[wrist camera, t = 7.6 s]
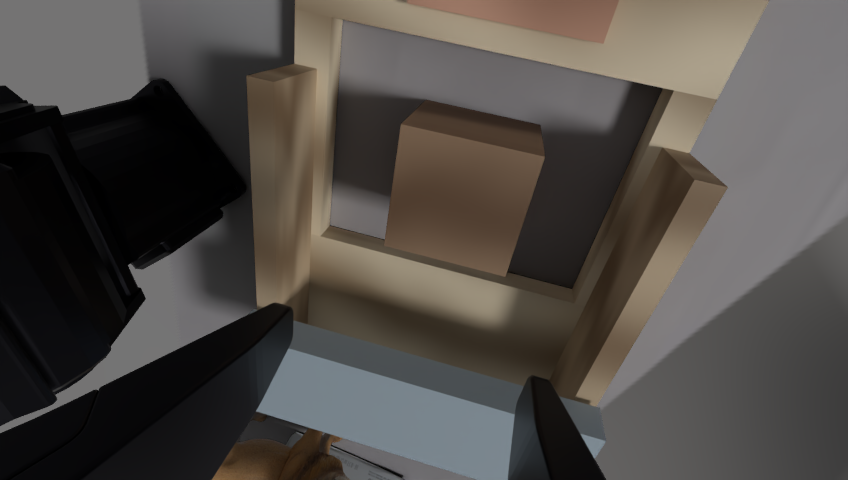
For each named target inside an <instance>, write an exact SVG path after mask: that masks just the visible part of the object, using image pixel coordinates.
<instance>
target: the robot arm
mask: <svg viewBox="0 0 848 480" xmlns="http://www.w3.org/2000/svg"><path fill="white" fill-rule="evenodd" d="M160 87H161V88H162V90H163V93H162V92H161V90H160ZM233 185H234V186H236V188H237V190H235V189H234V187H233ZM245 192H246V186H245V184H244V182H243V181H242V179H241V178H240V177H239V175H238V174H237V173H236V171H235V170H234V169H233V167H232V166H231V165H230V163H229V162H228V161H227V159H226V158H225V157H224V155H223V154H222V152H221V151H220V150H219V148H218V147H217V146H216V144H215V143H214V142H213V140H212V139H211V138H210V136H209V135H208V134H207V132H206V131H205V130H204V128H203V127H202V126H201V124H200V123H199V122H198V120H197V119H196V118H195V116H194V115H193V114H192V112H191V111H190V110H189V108H188V107H187V105H186V104H185V103H184V101H183V100H182V99H181V97H180V96H179V95H178V93H177V92H176V91H175V89H174V88H173V87H172V85H171V84H170V83H169V82H168V81H166V80H164V79H157V80H153V81H151V82H150V83H149V84H147V85H146V86H145V87H144V88H143V89H142V90H140V91H139V92H138V93H137V94H136V95H135V96H133V97H132V98H131V99H129V100H125V101H120V102H116V103H112V104H107V105H103V106H99V107H95V108H90V109H86V110H83V111H78V112H73V113H69V114H65V115H61V113H60V111H59V109H58V106H33V104H28V102H27V100H22V98H20V97H19V96H18V95H17V94H15V93H14V92H13V91H11V90H10V89H9V88H8V87H6V86H0V426H1V425H3V424H5V423H7V422H9V421H11V420H13V419H16V418H19V417H21V416H24V415H27V414H29V413H32V412H35V411H37V410H40V409H43V408H45V407H48V406H50V405H52V404H54V403H55V402H56V400H57V397H56V396H55V395H56V394H57V393H59V392H61V391H63V390H65V389H67V388H69V387H70V386H72V385H73V384H75V383H76V382H78V381H79V380H81V379H82V378H83V377H84V376H86V375H87V374H88V373H89V372H90V371H92V370H93V368H94V367H95V366H96V365H97V364H98V363H100V362H101V361H102V360H103V359H104V358H106V356H107V355H108V354H109V352H110V351H111V345H112V344H113V343H114V341H115V340H116V339H117V337H118V336H119V334H120V333H121V332H122V330H123V329H124V328H125V326H126V325H127V324H128V322H129V321H130V320H131V318H132V317H133V315H134V314H135V313H136V311H137V310H138V309H139V307H140V306H141V305H142V303H143V302H144V300H145V299H146V298H145V296H144V294H143V292H142V289H141V288H139V287H138V286H137V284H136V282H135V280H134V278H133V276H132V274H131V271H130V269H129V267H128V265H129V264H132V265H133V266H134V267H135V269H144V268H146V267H148V266H150V265H152V264H153V263H155V262H157V261H159V260H161V259H162V258H164V257H166V256H168V255H170V254H171V253H173V252H174V251H176V250H177V249H179V248H180V247H182V246H183V245H184V244H186V243H187V242H189V241H190V240H192V239H193V238H194V237H196V236H197V235H199V234H200V233H201V232H203V231H204V230H206V229H207V228H209V227H210V226H211V225H213V224H214V223H216V222H217V221H219V220H220V219H221V218H222V217H223V212H222V210H221V209H220V208H221V207H223V206H225V205H227V204H228V203H230V202H232V201H233V200H235V199H237V198H239V197H240V196H242V195H243V194H244V193H245ZM293 317H294V312H293V308H292V307H290V306H288V305H284V304H280V303H271V304H269V305H267V306H265V307H263V308H261V309H259V310H257V311H255V312H253V313H251V314H249V315H247V316H245V317H243V318H241V319H238V320H236V321H234V322H232V323H230V324H228V325H226V326H224V327H222V328H220V329H218V330H216V331H214V332H212V333H210V334H208V335H206V336H204V337H202V338H200V339H198V340H196V341H194V342H192V343H190V344H187V345H185V346H183V347H181V348H179V349H177V350H175V351H173V352H171V353H169V354H167V355H165V356H163V357H161V358H159V359H157V360H155V361H153V362H151V363H149V364H147V365H145V366H143V367H141V368H139V369H137V370H134V371H133V372H130V373H128V374H126V375H124V376H122V377H120V378H118V379H116V380H114V381H112V382H110V383H108V384H106V385H104V386H102V387H101V388H100V389H99V391H98V390H93V391H91V392H89V393H87V394H85V395H83V396H81V397H79V398H77V399H75V400H73V401H71V402H69V403H67V404H64V405H62V406H60V407H58V408H56V409H54V410H52V411H50V412H47V413H45V414H43V415H41V416H39V417H37V418H35V419H32V420H30V421H28V422H26V423H24V424H21V425H19V426H16V427H14V428H12V429H9V430H7V431H5V432H2V433H0V480H212V479H213V477H214V476H215V474H216V472H217V471H218V469H219V468H220V466H221V465H222V463H223V462H224V460H225V459H226V457H227V456H228V454H229V452H230V451H231V449H232V448H233V446H234V445H235V443H236V442H237V440H238V439H239V437H240V435H241V434H242V432H243V431H244V429H245V428H246V426H247V425H248V423H249V422H250V420H251V419H252V417H253V415H254V414H255V412H256V410H257V409H258V407H259V405H260V403H261V402H262V400H263V398H264V396H265V394H266V392H267V390H268V388H269V386H270V384H271V382H272V380H273V378H274V376H275V374H276V372H277V370H278V368H279V366H280V364H281V362H282V360H283V358H284V356H285V354H286V352H287V350H288V348H289V346H290V344H291V342H292V338H293ZM508 480H606V478H605V477H604V475H603V473H602V472H601V469H600V468H599V466H598V464H597V462H596V461H595V459H594V457H593V455H592V454H591V452H590V450H589V448H588V446H587V445H586V443H585V441H584V439H583V438H582V436H581V434H580V432H579V431H578V429H577V427H576V425H575V423H574V422H573V420H572V418H571V416H570V415H569V413H568V411H567V409H566V408H565V406H564V404H563V402H562V400H561V399H560V397H559V395H558V393H557V392H556V390H555V388H554V386H553V385H552V383H551V382H550V381H549V380H548V379H545V378H541V377H538V376H534V375H531V376H529V377H528V378H527V380H526V383H525V385H524V387H523V389H522V392H521V394H520V396H519V398H518V401H517V404H516V409H515V416H514V425H513V434H512V443H511V452H510V461H509V470H508Z"/></svg>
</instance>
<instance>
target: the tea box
mask: <svg viewBox="0 0 848 480" xmlns="http://www.w3.org/2000/svg"><path fill="white" fill-rule="evenodd" d="M303 435H304V434H301V433H299V432H295V434H293V435H292V436H291V437H290V439H289V440H288V442H287V444H286V445H287V446H289V447H291V448H292V447H293V445H294V444H295V443H296V442H297V441H298V440H300V439H301V437H302V436H303ZM329 455H332V456H334V457H336V458H337V459H339V460H340V461H341V462H342V467H343V472H344V473H345V475H346V476H347V477H348V478H349V479H350V480H404V479H402V478H400V477H398V476H396V475H394V474H392V473H390V472H388V471H386V470H384V469H382V468H380V467H378V466H375V465H373V464H371V463H369V462H366V461H364V460H362V459H360V458H357V457H355V456H353V455H351V454H348V453H346V452H344V451H341V450H339V449H337V448H334V447H332V446H331V447H330V450H329Z"/></svg>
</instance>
